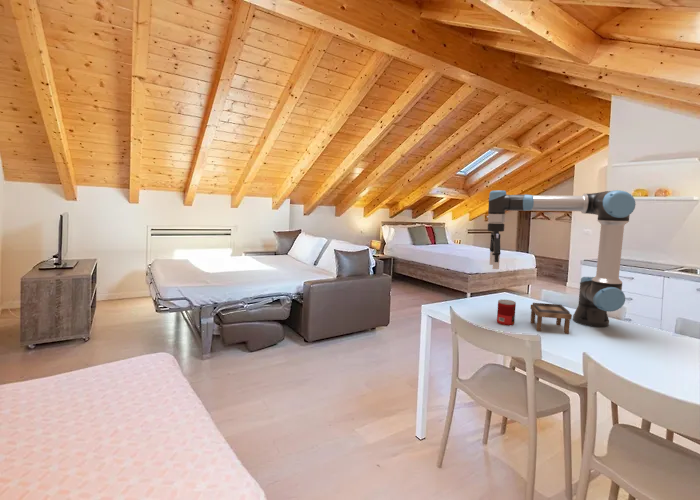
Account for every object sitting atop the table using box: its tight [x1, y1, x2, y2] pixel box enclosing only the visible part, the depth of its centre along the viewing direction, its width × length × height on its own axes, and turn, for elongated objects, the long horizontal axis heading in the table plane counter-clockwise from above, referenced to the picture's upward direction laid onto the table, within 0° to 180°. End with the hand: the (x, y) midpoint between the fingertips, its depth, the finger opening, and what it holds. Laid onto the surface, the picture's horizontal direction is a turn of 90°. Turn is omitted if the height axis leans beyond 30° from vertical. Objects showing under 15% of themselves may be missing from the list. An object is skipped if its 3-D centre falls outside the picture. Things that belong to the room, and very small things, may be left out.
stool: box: [530, 302, 573, 335], centre depth 178 cm, size 14×14×10 cm
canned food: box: [496, 299, 517, 327], centre depth 184 cm, size 8×8×11 cm
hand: (494, 266), depth 182 cm, fingers open, 13 cm apart
